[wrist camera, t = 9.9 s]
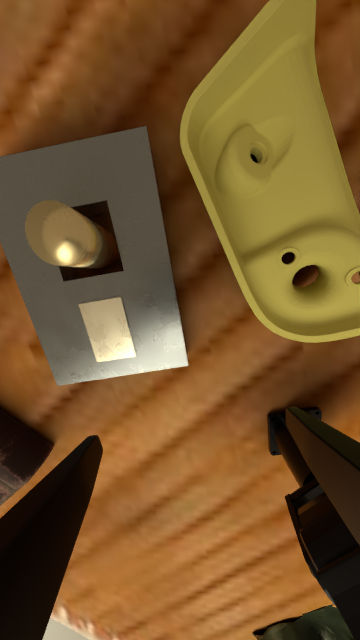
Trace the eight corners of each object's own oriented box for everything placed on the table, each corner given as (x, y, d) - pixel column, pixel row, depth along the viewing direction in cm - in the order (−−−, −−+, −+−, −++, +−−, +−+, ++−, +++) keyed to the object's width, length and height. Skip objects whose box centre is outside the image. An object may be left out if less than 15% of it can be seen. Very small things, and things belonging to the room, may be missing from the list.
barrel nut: (121, 264, 18) (93, 260, 12) (84, 272, 18) (38, 270, 12) (111, 222, 17) (74, 194, 11) (71, 230, 17) (15, 207, 11)
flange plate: (187, 354, 20) (188, 366, 18) (71, 372, 21) (56, 386, 18) (151, 149, 15) (145, 123, 13) (1, 180, 16) (-34, 161, 13)
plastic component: (168, 120, 13) (346, -93, 8) (201, 161, 19) (310, 60, 14) (268, 353, 16) (444, 319, 11) (268, 323, 23) (379, 291, 17)
